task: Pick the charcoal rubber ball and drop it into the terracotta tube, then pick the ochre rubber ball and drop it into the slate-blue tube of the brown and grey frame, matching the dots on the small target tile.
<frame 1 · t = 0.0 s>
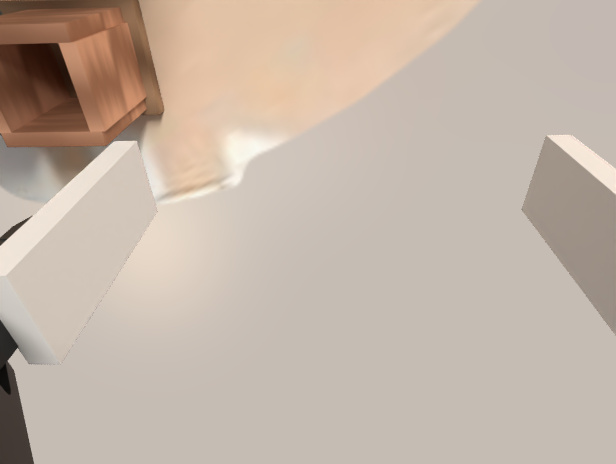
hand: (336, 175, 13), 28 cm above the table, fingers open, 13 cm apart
brown and grey frame: (44, 60, 38), on the table
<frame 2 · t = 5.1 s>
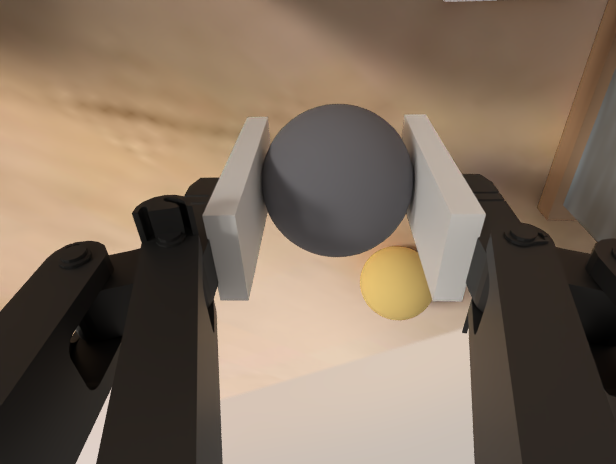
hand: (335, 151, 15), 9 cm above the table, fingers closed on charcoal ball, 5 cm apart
charcoal ball: (336, 182, 13), point 11 cm above the table, touching gripper
ochre ball: (396, 282, 27), point 2 cm above the table
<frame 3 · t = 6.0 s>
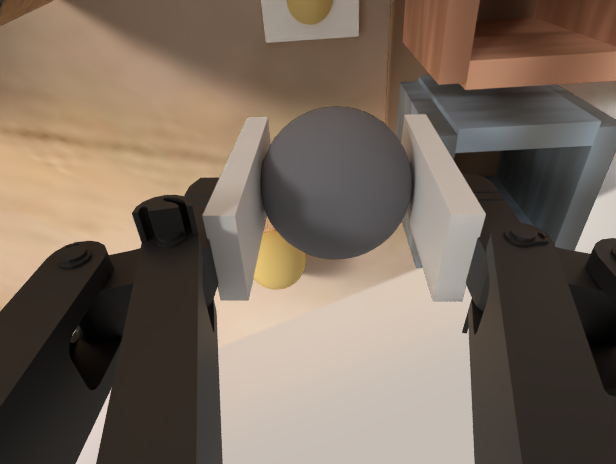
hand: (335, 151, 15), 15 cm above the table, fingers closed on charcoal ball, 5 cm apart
charcoal ball: (335, 184, 13), point 17 cm above the table, touching gripper
ochre ball: (276, 259, 34), point 2 cm above the table
brown and grey frame: (464, 52, 26), on the table
when the fingers open (12 cm above the table, at t = 7.1 s): charcoal ball drops 10 cm, resting on brown and grey frame.
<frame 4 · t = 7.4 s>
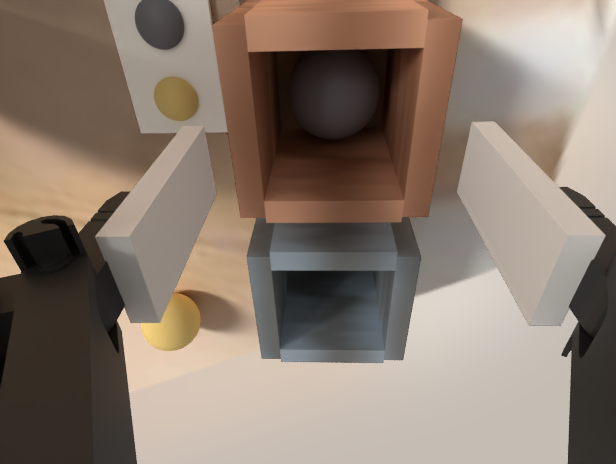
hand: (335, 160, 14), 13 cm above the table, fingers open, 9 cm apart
charcoal ball: (333, 92, 22), point 4 cm above the table, touching brown and grey frame
ochre ball: (171, 321, 35), point 2 cm above the table
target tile: (171, 61, 25), on the table
brown and grey frame: (330, 149, 28), on the table
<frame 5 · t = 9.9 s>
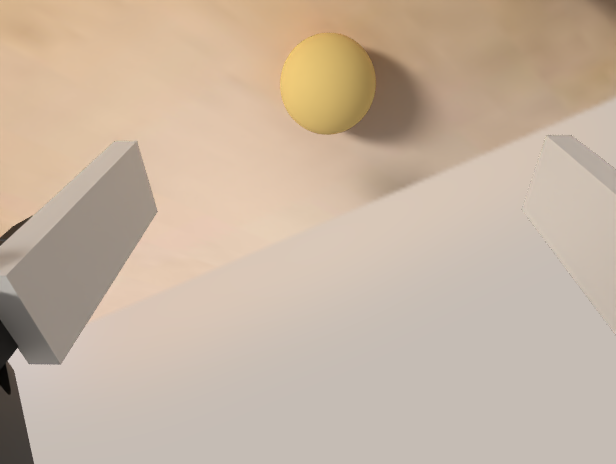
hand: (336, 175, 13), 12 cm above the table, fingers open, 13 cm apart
ochre ball: (327, 85, 21), point 2 cm above the table
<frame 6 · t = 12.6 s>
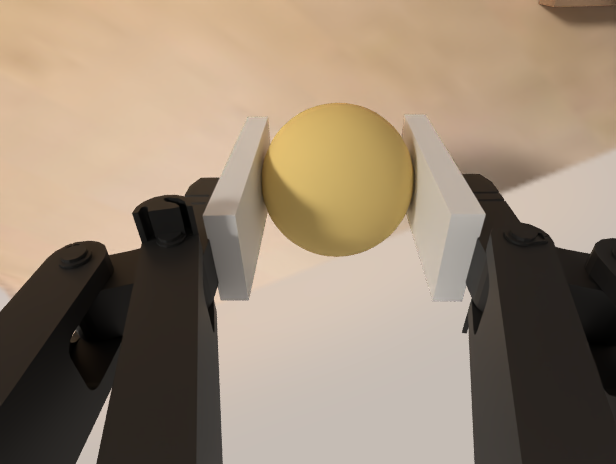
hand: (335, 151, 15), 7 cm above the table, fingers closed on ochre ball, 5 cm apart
ochre ball: (336, 181, 13), point 10 cm above the table, touching gripper
when the fingers open (12 cm above the table, at t = 14.5 s): ochre ball drops 10 cm, resting on brown and grey frame.
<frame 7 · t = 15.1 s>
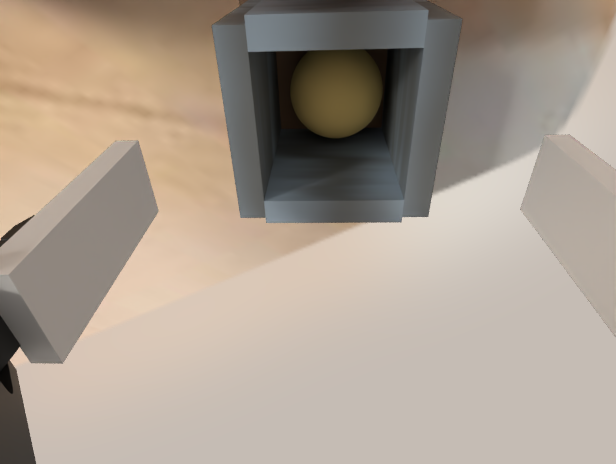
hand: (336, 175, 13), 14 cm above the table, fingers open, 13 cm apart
ochre ball: (336, 91, 22), point 4 cm above the table, tilted 7°, touching brown and grey frame
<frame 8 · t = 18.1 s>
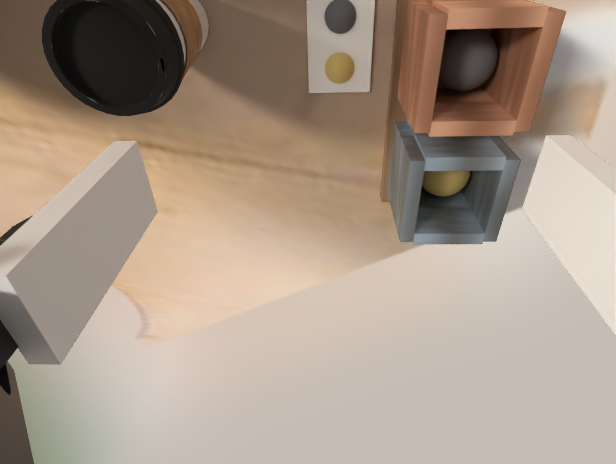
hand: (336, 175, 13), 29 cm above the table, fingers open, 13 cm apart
charcoal ball: (465, 59, 34), point 4 cm above the table, tilted 16°, touching brown and grey frame
ochre ball: (443, 171, 40), point 4 cm above the table, tilted 14°, touching brown and grey frame
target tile: (339, 42, 37), on the table
coffee cup: (177, 22, 37), on the table
brown and grey frame: (438, 104, 40), on the table
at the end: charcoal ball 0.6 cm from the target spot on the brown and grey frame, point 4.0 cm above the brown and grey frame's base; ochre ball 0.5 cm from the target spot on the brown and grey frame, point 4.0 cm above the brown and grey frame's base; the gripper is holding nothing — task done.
